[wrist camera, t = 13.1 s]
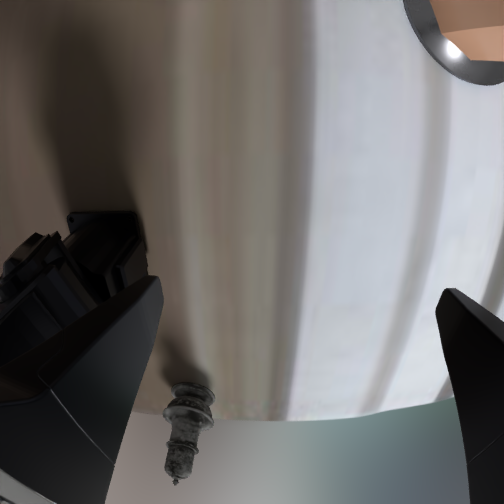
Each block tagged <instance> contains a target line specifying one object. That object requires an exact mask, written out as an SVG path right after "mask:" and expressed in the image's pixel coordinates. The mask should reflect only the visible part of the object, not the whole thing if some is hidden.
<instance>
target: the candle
mask: <svg viewBox="0 0 504 504" xmlns="http://www.w3.org/2000/svg"><path fill="white" fill-rule="evenodd" d="M403 2H404V6H405V10H406V13H407V16H408V19H409V21H410V24H411V26H412V28H413V30H414V32H415V33H416V35H417V37H418V39H419V40H420V42H421V43H422V45H423V46H424V48H425V49H426V50H427V51H428V53H429V54H430V55H431V56H432V57H433V58H434V59H435V60H436V61H437V62H438V63H439V64H440V65H441V66H442V67H443V68H444V69H446V70H447V71H448V72H450V73H451V74H452V75H454V76H456V77H458V78H459V79H461V80H464V81H466V82H469V83H473V84H478V85H486V86H488V85H496V84H499V83H502V82H504V61H484V60H470V59H469V58H468V57H467V56H466V55H465V54H464V53H463V52H462V51H461V50H459V49H458V48H457V47H456V46H455V45H454V44H453V43H452V42H450V41H449V40H448V39H447V38H446V37H445V36H443V35H442V34H441V31H440V28H439V25H438V22H437V19H436V16H435V14H434V11H433V8H432V5H431V3H430V0H403Z"/></svg>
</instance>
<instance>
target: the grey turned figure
mask: <svg viewBox="0 0 504 504" xmlns="http://www.w3.org/2000/svg"><path fill="white" fill-rule="evenodd" d="M171 392H172V395H173V397H174V398H175V399H173V400H172V401H171V402H170V403H169V404H168V406H167V408H166V409H164V411H163V417H164V418H165V420H166V421H167V422H169V423H170V424H172V432H171V437H170V441H168V442H167V443H166V446H167V448H168V453H167V458H166V463H165V471H166V473H167V474H168V475H169V476H171V477H172V478H173V479H174V481H173V484H174V485H177V484H178V483H179V482H178V480H180V479H185V478H188V477H189V476H190V475H191V472H192V465H193V460H194V455H195V454H197V453H198V452H199V450H198V448H197V441H198V436H199V434H200V432H201V431H206V430H209V429H211V428H212V427H213V425H214V421H213V419H212V414H211V410H210V408H209V407H208V406H210V405H212V404H213V403H214V401H215V396H214V394H213V393H212V392H211V391H210V390H209V389H207V388H205V387H203V386H201V385H198V384H194V383H179V384H176V385H175V386H173V388H172V390H171Z"/></svg>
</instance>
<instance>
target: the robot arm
mask: <svg viewBox="0 0 504 504" xmlns="http://www.w3.org/2000/svg"><path fill="white" fill-rule="evenodd" d="M128 216H130V217H131V218H132V220H130V219H129V218H128ZM72 218H73V219H74V220H72ZM67 222H68V226H69V230H70V235H69V236H67V237H66V238H65V239H64V240H63V241H62V240H61V236H60V234H59V233H58V231H56V232H54V233H53V234H51V235H49V234H48V235H46V236H45V235H44V236H43V235H40V234H38V233H36V232H35V233H34V234H33V235H31V236H30V237H29V238H28V239H27V240H26V241H24V242H23V243H22V244H21V245H20V246H19V247H18V248H17V249H16V250H15V251H14V252H13V253H12V254H11V255H10V256H9V258H8V259H7V260H6V261H5V262H4V265H3V273H2V275H1V277H0V504H105V500H106V496H107V492H108V489H109V485H110V481H111V478H112V474H113V470H114V467H115V466H114V464H115V463H116V459H117V456H118V453H119V449H120V445H121V442H122V439H123V436H124V433H125V429H126V426H127V422H128V420H129V417H130V414H131V410H132V407H133V404H134V401H135V398H136V395H137V392H138V389H139V386H140V383H141V380H142V377H143V374H144V372H145V369H146V366H147V363H148V360H149V357H150V354H151V352H152V348H153V345H154V341H155V337H156V333H157V329H158V324H159V320H160V316H161V312H162V308H163V303H164V298H163V292H162V287H161V282H160V278H159V277H158V276H152V275H148V274H147V267H148V263H147V258H146V253H145V247H144V242H143V239H142V238H141V237H140V231H139V225H138V219H137V215H136V214H135V213H134V212H132V211H101V212H72V213H70V214H69V215H68V216H67ZM435 313H436V319H437V324H438V328H439V333H440V338H441V344H442V349H443V353H444V357H445V361H446V365H447V368H448V372H449V376H450V380H451V384H452V388H453V392H454V397H455V400H456V406H457V410H458V415H459V420H460V426H461V431H462V437H463V442H464V449H465V456H466V463H467V473H468V483H469V495H470V504H504V322H503V321H502V320H500V319H499V318H498V317H496V316H495V315H494V314H492V313H491V312H489V311H488V310H487V309H485V308H484V307H482V306H481V305H479V304H478V303H477V302H475V301H474V300H472V299H471V298H469V297H468V296H466V295H465V294H464V293H462V292H461V291H459V290H458V289H456V288H446V289H444V291H443V292H442V295H441V297H440V300H439V302H438V304H437V307H436V312H435Z"/></svg>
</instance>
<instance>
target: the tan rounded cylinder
mask: <svg viewBox="0 0 504 504" xmlns="http://www.w3.org/2000/svg"><path fill="white" fill-rule="evenodd" d="M430 3H431V5H432V8H433V11H434V14H435V16H436V19H437V22H438V25H439V28H440V31H441V34H442V35H443V36H445V37H446V38H447V39H448V40H449V41H450V42H452V43H453V44H454V45H455V46H456V47H457V48H458V49H459V50H461V51H462V52H463V53H464V54H465V55H466V56H467V57H468V58H469V59H470V60H484V61H504V0H430Z"/></svg>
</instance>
